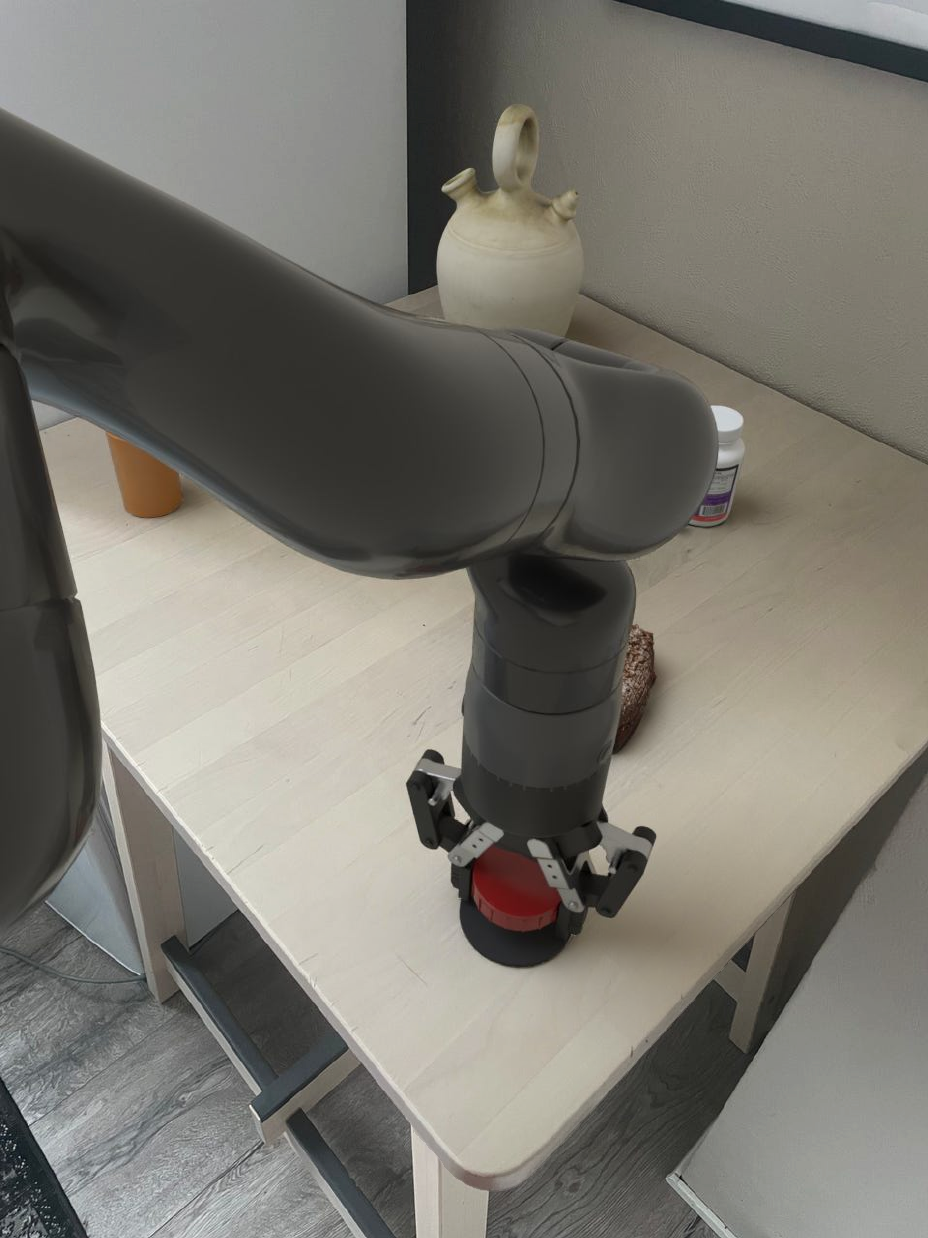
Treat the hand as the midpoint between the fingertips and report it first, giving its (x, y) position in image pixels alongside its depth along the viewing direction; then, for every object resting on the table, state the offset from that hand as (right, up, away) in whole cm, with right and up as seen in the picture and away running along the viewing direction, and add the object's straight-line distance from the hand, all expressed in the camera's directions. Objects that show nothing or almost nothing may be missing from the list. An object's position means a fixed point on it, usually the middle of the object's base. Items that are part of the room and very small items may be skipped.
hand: (516, 906), depth 62 cm
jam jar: (-31, +28, +30) cm, 51 cm away
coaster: (0, -1, +1) cm, 1 cm away
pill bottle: (+18, +27, +31) cm, 45 cm away
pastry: (+5, +12, +14) cm, 19 cm away
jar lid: (0, +2, -2) cm, 3 cm away
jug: (+1, +47, +52) cm, 70 cm away
